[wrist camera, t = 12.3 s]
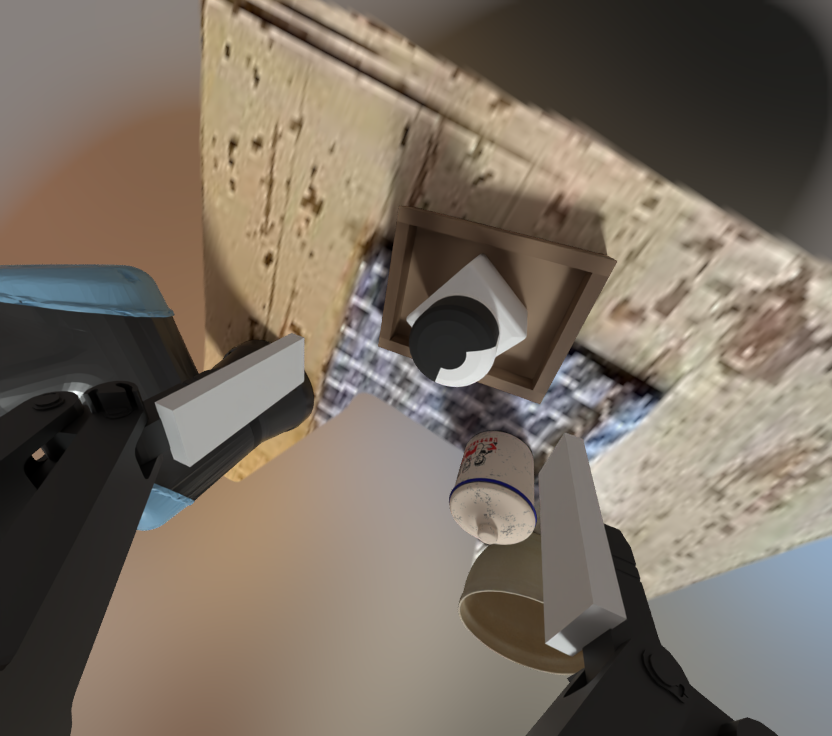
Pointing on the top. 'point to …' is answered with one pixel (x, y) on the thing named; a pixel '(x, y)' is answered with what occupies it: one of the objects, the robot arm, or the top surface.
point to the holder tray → (521, 269)
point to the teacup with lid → (495, 489)
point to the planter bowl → (513, 607)
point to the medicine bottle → (466, 325)
